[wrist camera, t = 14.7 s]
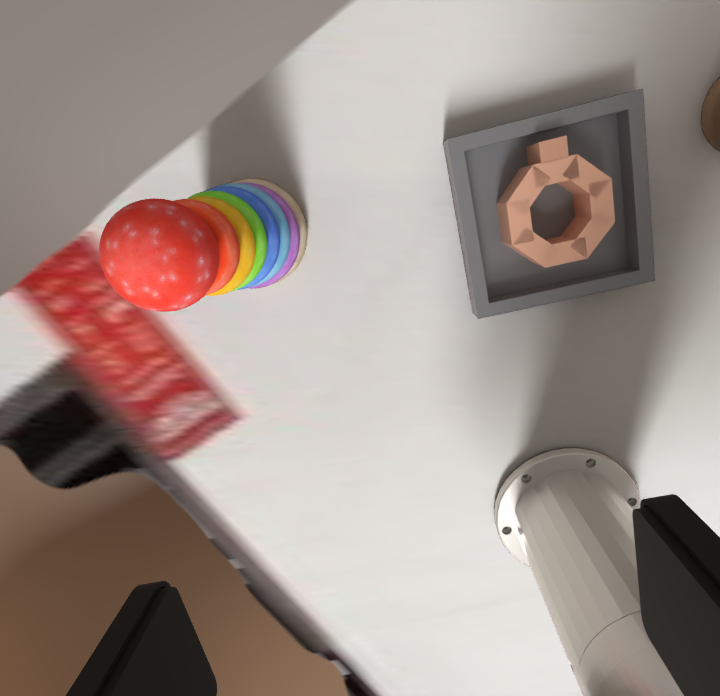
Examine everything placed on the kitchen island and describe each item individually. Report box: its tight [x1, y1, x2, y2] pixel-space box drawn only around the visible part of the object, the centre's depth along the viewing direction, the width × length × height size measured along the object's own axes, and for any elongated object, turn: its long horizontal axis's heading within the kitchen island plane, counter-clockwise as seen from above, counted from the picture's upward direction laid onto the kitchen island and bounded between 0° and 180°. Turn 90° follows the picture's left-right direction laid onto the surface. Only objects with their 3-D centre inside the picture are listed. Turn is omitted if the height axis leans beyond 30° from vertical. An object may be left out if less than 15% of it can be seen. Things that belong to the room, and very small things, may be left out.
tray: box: [443, 89, 655, 319], centre depth 35 cm, size 13×13×2 cm
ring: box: [496, 135, 615, 268], centre depth 34 cm, size 7×8×3 cm
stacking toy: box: [99, 179, 307, 312], centre depth 28 cm, size 8×8×19 cm
